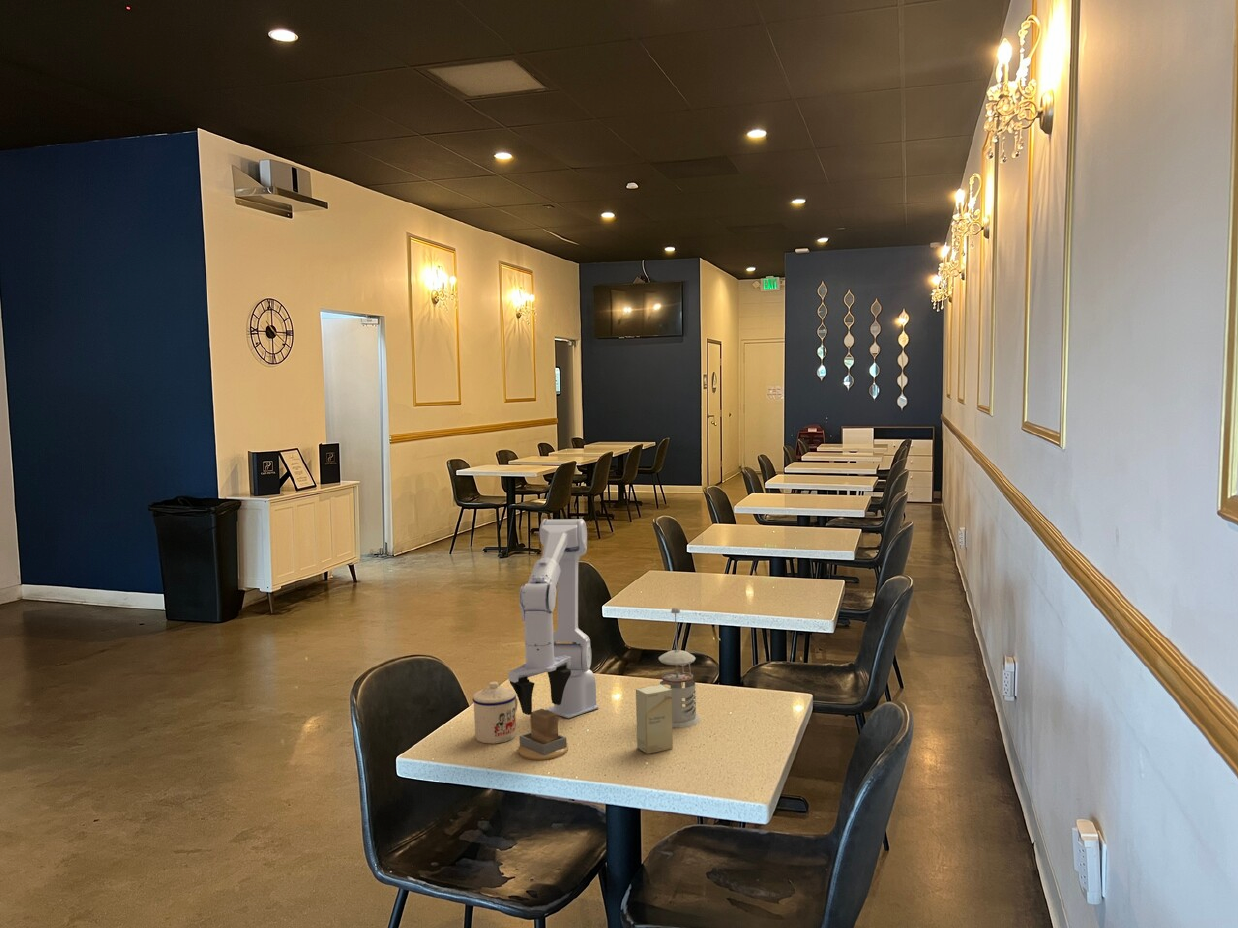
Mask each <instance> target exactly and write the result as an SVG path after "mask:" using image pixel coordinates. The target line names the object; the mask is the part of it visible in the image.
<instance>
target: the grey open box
mask: <svg viewBox="0 0 1238 928" xmlns="http://www.w3.org/2000/svg"><path fill="white" fill-rule="evenodd" d="M568 751H569V744H568V742H567V736H563V735H560V734H558V740H555V741H553V742H550V743H547V744H541V743H539V742H536V741H534V740H531V731H530V732H527V733H525V734H521V735H519V745H518V755H519V756H521V757H522V758H524V759H527V760H533V761H548V760H551V759H553V760H554V759H556V758H560V757H562V756H564V755H565V754H566V753H567V752H568Z"/></svg>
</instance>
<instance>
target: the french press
mask: <svg viewBox="0 0 1238 928" xmlns="http://www.w3.org/2000/svg"><path fill="white" fill-rule="evenodd" d="M680 610H681V609H680V608H679V607H677V606H674V607H672V608H671V610H670V612H671V613H672V614H674V618H675V620H674V622H675V650H673V649H672V650H669V651H667V652H665V653H663V654H661V655H660V656H658V658H657V659H658V661H659V662H660V663H661V664H664V665H668V666H676V670H675V671H669V672H665V673H663V674H661V676H660V678H661V681H660V682H659V685H664V686H665V685H667V686H670V687H668V688H669V689H671V690H672V728H689V727H692V726H696V725H698V724H699V723H700V722H701V720H702V718H701V717H700V716H699V715H698V714H697V702H696V699H697V696H696V694H697V693H696V682H695V681H694V680H693V679H694V677H695V676H694V674H692V673H691V671H692V670H691V664H692V663H694V662H695V660H696V657H695V655H693V654H691V653H690V652H688V651H685V650H678V638H677V635H678V634H677V632H678V631H677V614H680V613H681V611H680ZM687 665H688V667H689V672H688V671H687V672H686V671H685V669H684V667H686V666H687ZM679 666H680V667H682V671H678V668H679ZM683 685H684V688H683ZM683 699H684V700H683ZM683 705H685V706H683Z"/></svg>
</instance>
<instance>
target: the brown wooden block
mask: <svg viewBox="0 0 1238 928" xmlns="http://www.w3.org/2000/svg"><path fill="white" fill-rule="evenodd" d="M529 716H530V732H531V740H534V741H536V742H539V743H541V744H547V743H550V742H553V741H555V740H558V735H559V715H558V714H556V713H553V712H550V711H547V710H546V709H544V708H539V709H537V710H532V713H531V714H530V715H529Z"/></svg>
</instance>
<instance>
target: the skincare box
mask: <svg viewBox="0 0 1238 928" xmlns="http://www.w3.org/2000/svg"><path fill="white" fill-rule="evenodd" d="M669 688H670V687H667V686H665V685H660V684H657V685H651V686H646V687H641V688H635V706H636V707H635V709H636V716H635V717H636V746H637V748H638V749H639V750H640V751H642V752H644V753H646V754H652V753H658V752H663V751H668V750H672V749H673V748H674V742H673V741H674V738H673V727H672V690H671V689H669Z"/></svg>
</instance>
